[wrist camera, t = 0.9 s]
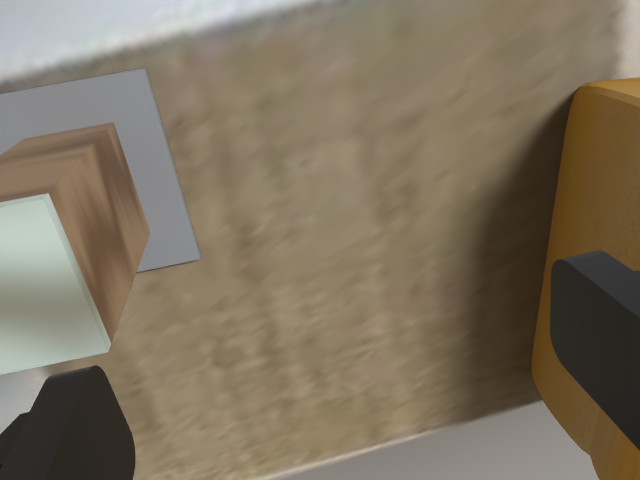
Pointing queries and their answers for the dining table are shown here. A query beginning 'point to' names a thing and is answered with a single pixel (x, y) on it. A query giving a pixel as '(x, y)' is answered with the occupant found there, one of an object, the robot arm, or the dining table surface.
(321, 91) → the dining table surface
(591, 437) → the bread
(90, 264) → the block
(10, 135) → the mat
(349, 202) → the dining table surface
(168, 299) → the dining table surface
